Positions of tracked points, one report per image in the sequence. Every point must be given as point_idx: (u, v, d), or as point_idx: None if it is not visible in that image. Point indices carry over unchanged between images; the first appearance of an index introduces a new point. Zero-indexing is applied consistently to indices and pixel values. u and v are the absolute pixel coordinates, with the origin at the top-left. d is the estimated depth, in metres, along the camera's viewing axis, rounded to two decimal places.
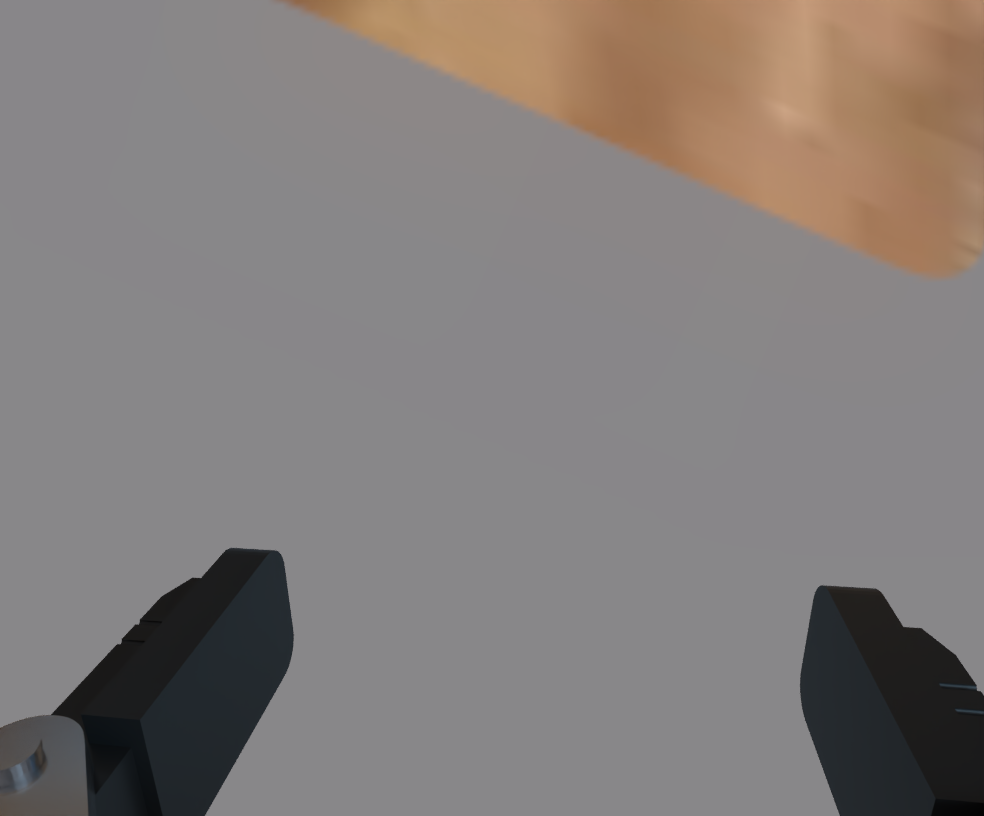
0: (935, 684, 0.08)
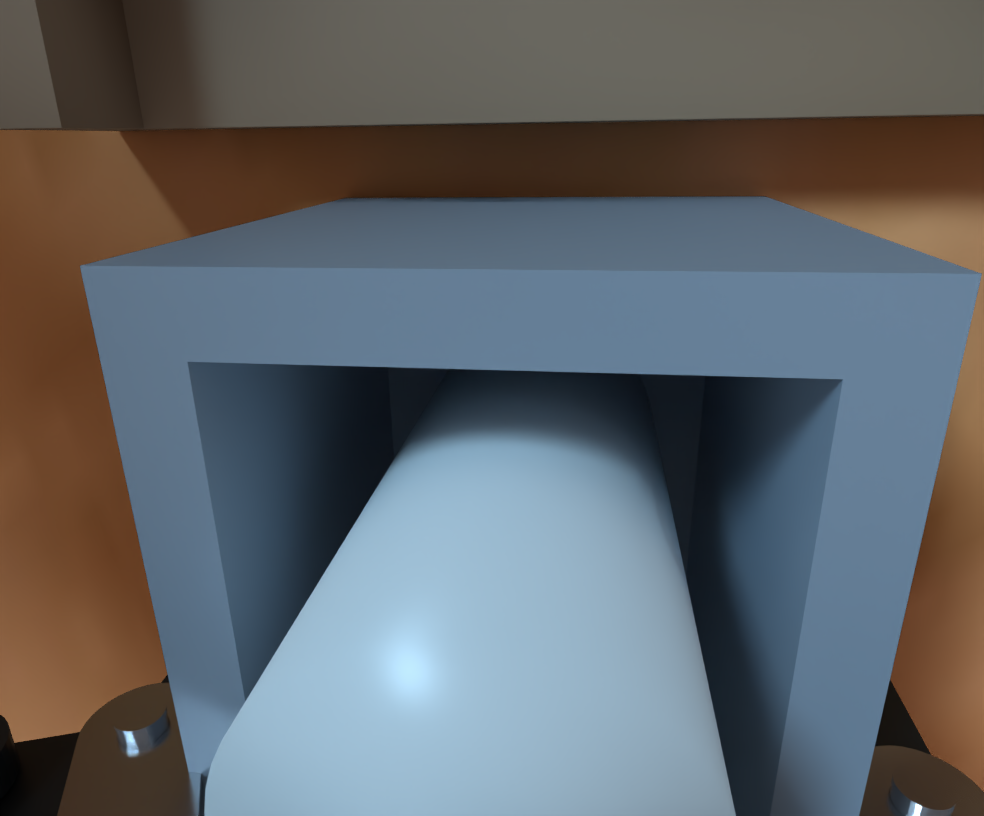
0: None
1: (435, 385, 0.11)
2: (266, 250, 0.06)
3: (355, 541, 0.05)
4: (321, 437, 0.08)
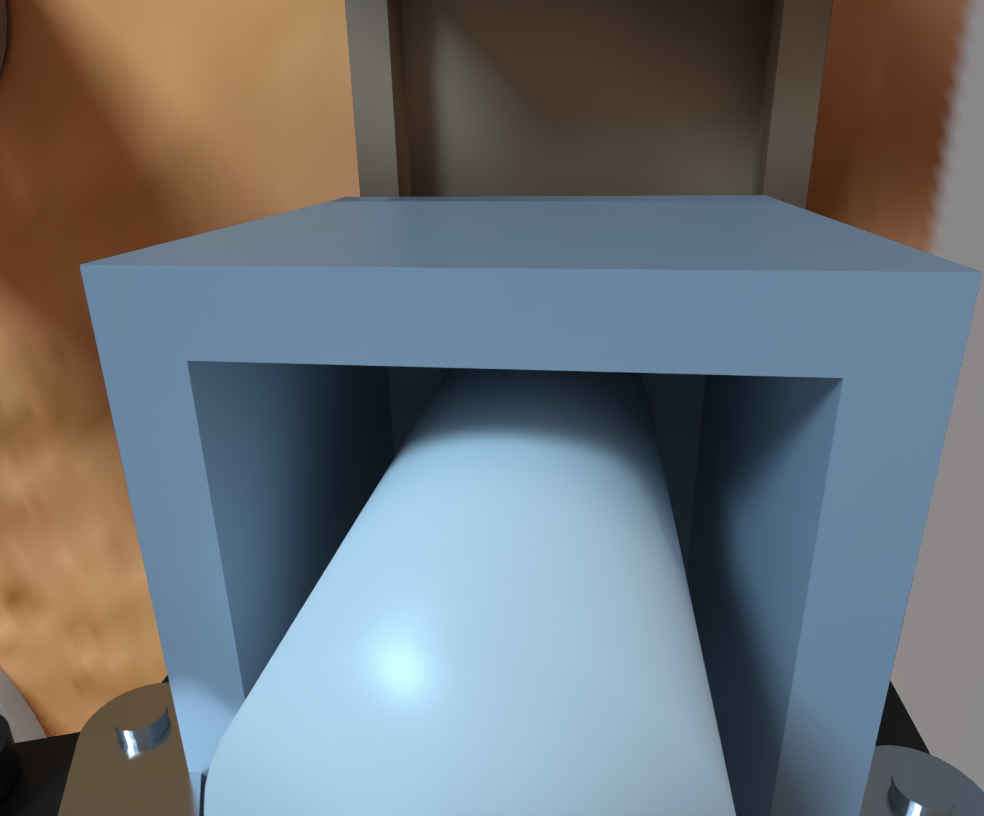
0: None
1: (435, 384, 0.11)
2: (266, 249, 0.06)
3: (355, 540, 0.05)
4: (321, 436, 0.08)
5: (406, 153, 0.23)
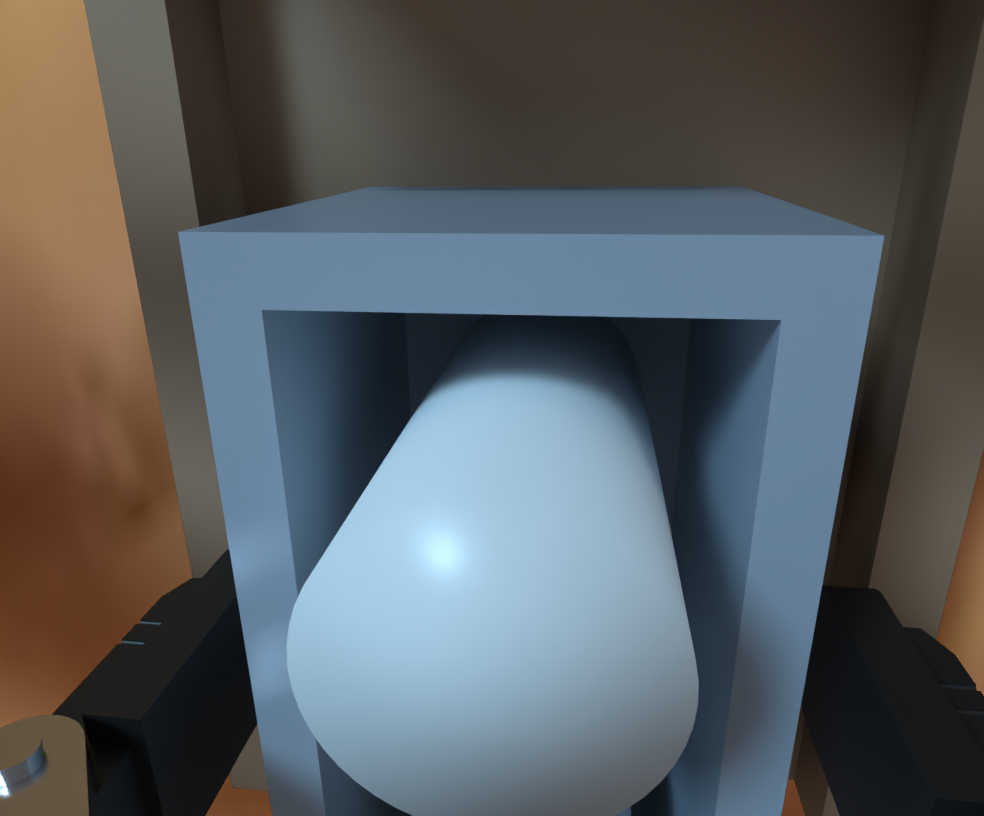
0: (934, 684, 0.08)
1: (448, 353, 0.12)
2: (322, 222, 0.07)
3: (395, 455, 0.07)
4: (354, 390, 0.09)
5: (230, 171, 0.12)
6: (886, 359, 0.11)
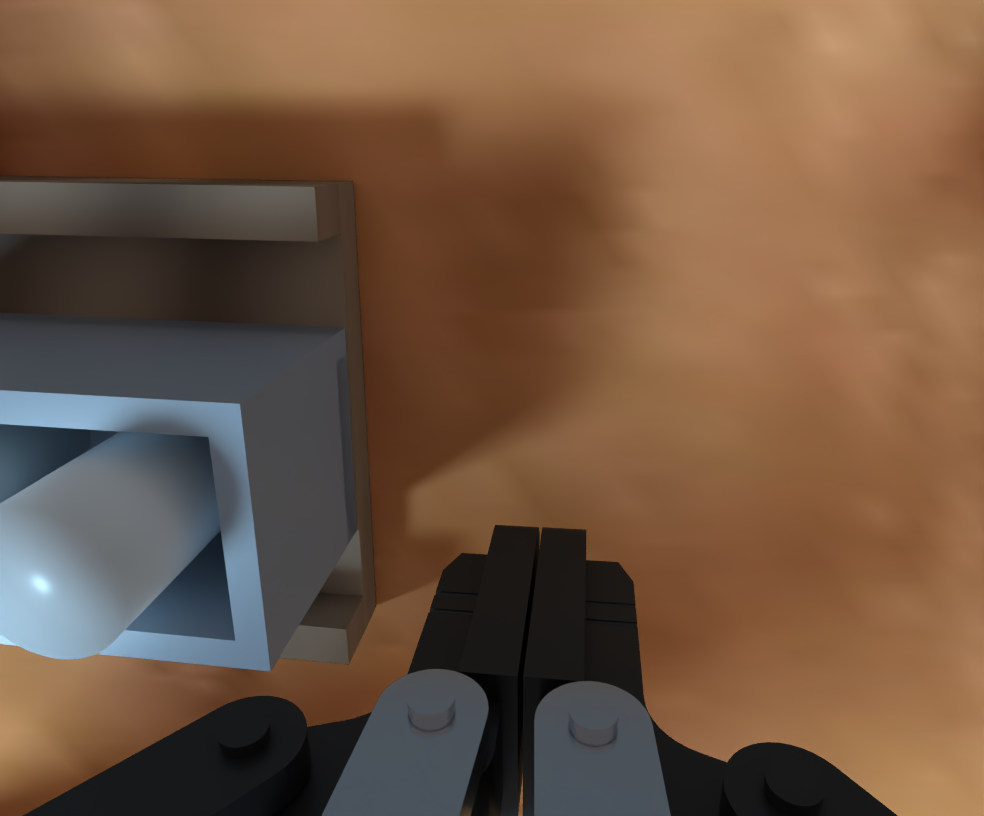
0: (580, 598, 0.09)
1: None
2: None
3: None
4: None
5: None
6: None
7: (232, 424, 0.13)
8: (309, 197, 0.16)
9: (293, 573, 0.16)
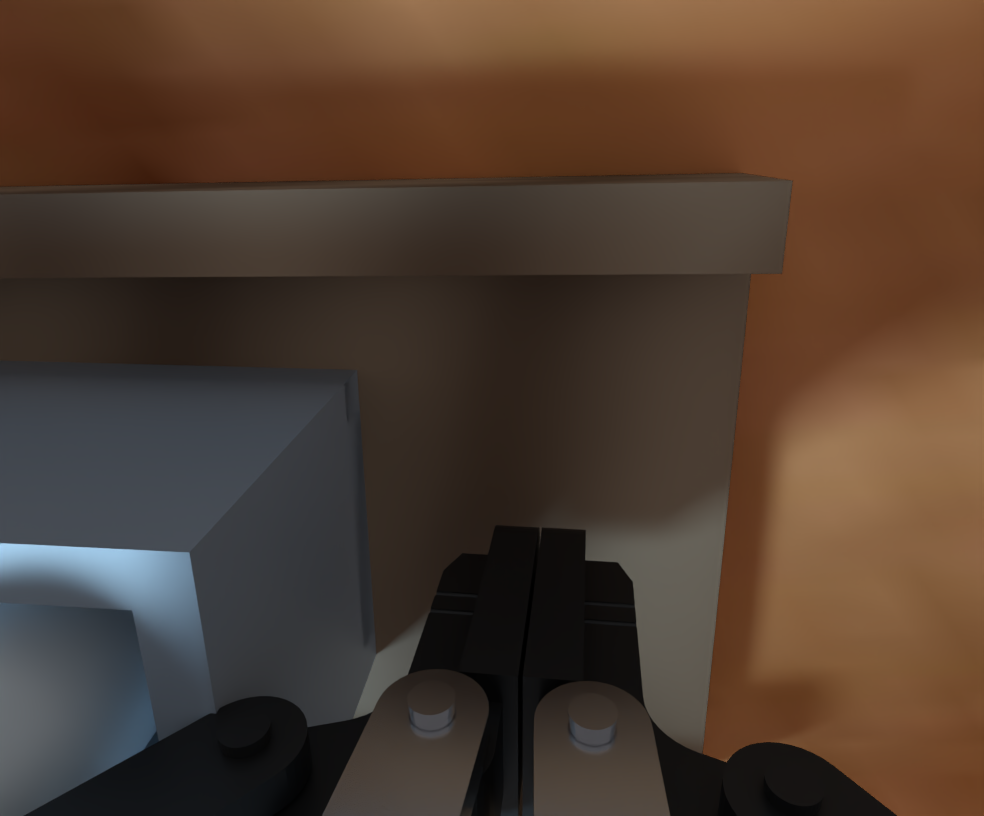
0: (580, 598, 0.09)
1: None
2: None
3: None
4: None
5: None
6: None
7: (176, 588, 0.07)
8: (778, 199, 0.09)
9: None
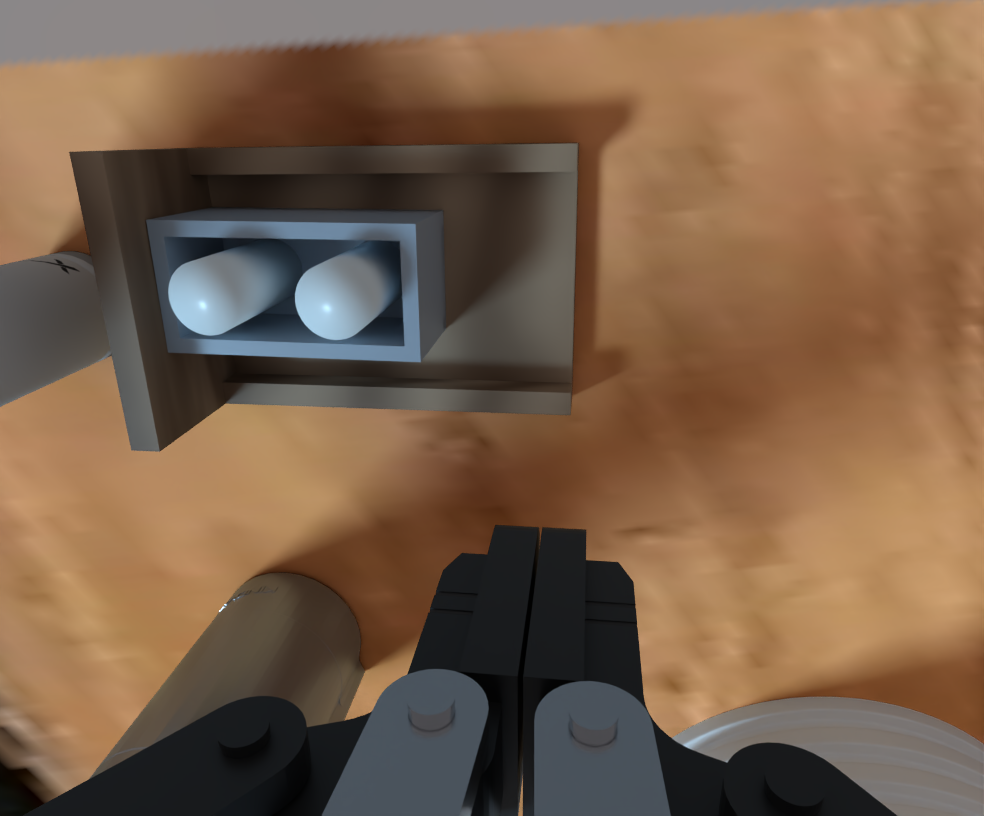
0: (580, 598, 0.09)
1: None
2: None
3: None
4: (236, 326, 0.35)
5: (342, 378, 0.39)
6: None
7: (411, 234, 0.30)
8: (574, 149, 0.32)
9: (427, 322, 0.33)
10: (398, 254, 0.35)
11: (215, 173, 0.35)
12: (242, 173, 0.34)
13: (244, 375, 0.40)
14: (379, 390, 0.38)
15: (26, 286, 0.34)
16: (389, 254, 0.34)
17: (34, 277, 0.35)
